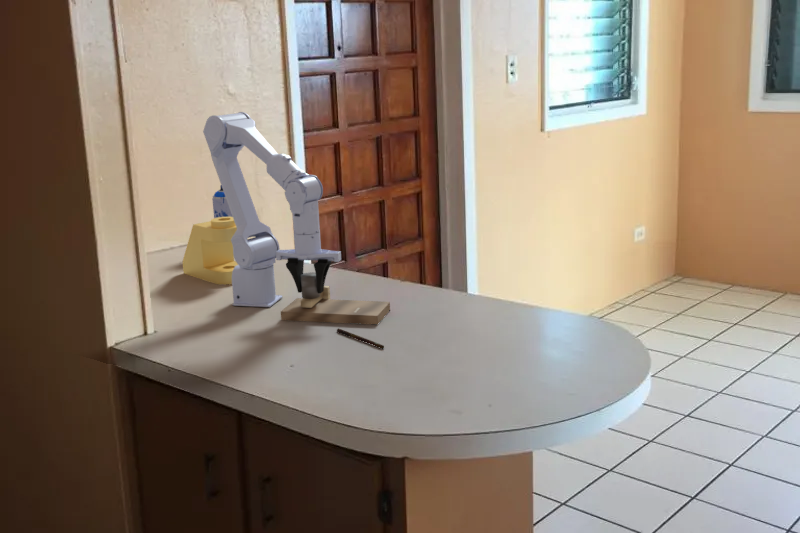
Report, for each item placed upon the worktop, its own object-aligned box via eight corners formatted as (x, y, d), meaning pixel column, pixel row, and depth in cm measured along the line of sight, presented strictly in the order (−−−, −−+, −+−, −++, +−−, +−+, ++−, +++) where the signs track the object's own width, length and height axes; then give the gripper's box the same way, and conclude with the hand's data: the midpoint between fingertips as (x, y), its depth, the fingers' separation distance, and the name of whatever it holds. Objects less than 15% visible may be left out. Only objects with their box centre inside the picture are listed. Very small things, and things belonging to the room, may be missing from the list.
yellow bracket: (254, 279, 221) (249, 218, 217) (224, 286, 215) (218, 224, 210) (213, 266, 235) (208, 209, 231) (183, 273, 229) (177, 215, 225)
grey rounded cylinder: (296, 313, 188) (293, 278, 186) (310, 302, 197) (307, 268, 195) (317, 314, 187) (315, 279, 185) (330, 302, 195) (328, 268, 193)
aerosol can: (248, 249, 253) (242, 182, 247) (238, 256, 245) (232, 187, 240) (223, 249, 254) (216, 182, 249) (212, 255, 247) (205, 187, 242)
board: (281, 320, 187) (280, 311, 186) (297, 306, 196) (297, 297, 196) (377, 324, 181) (377, 315, 181) (390, 310, 191) (389, 301, 190)
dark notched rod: (336, 333, 178) (336, 328, 178) (338, 332, 178) (338, 328, 178) (382, 350, 167) (382, 345, 167) (384, 350, 167) (384, 345, 167)
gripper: (268, 235, 184) (273, 295, 188) (332, 236, 181) (336, 298, 184) (281, 228, 191) (285, 286, 194) (342, 229, 187) (346, 288, 191)
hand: (310, 291), depth 190 cm, fingers closed on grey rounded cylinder, 4 cm apart
